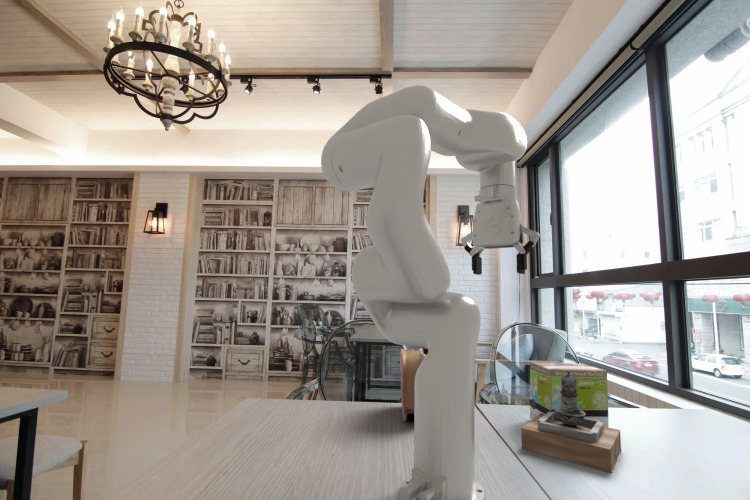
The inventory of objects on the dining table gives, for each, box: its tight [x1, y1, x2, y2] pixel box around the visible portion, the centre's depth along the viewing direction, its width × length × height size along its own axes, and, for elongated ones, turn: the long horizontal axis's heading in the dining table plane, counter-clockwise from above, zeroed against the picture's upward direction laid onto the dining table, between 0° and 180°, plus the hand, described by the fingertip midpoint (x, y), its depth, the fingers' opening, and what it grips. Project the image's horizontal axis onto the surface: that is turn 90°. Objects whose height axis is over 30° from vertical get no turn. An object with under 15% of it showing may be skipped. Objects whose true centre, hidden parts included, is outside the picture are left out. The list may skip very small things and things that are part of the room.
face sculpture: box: [399, 347, 427, 423], centre depth 99 cm, size 20×7×17 cm, turn 179°
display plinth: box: [521, 411, 622, 474], centre depth 78 cm, size 14×16×6 cm
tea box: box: [529, 361, 609, 428], centre depth 94 cm, size 15×10×15 cm, turn 97°
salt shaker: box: [555, 371, 586, 431], centre depth 79 cm, size 6×6×12 cm
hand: (498, 273), depth 81 cm, fingers open, 9 cm apart
